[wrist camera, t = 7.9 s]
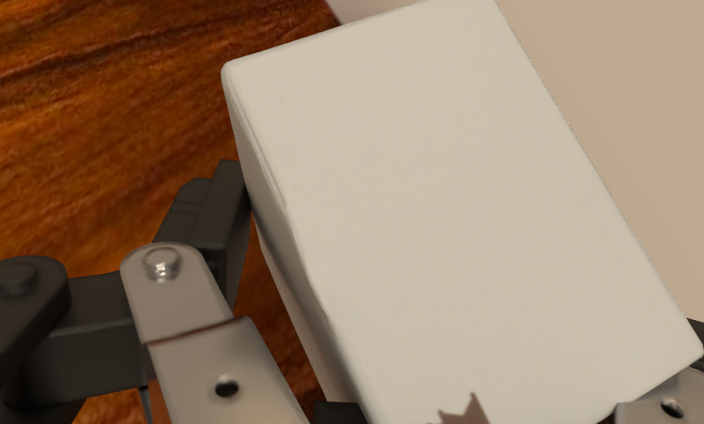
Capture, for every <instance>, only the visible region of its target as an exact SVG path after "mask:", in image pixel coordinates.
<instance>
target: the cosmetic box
mask: <svg viewBox="0 0 704 424" xmlns="http://www.w3.org/2000/svg"><path fill="white" fill-rule="evenodd" d="M221 80H222V85H223V90H224V94H225V98H226V102H227V106H228V110H229V115H230V119H231V124H232V128H233V132H234V136H235V140H236V145H237V150H238V155H239V159H240V164H241V168H242V172H243V176H244V180H245V184H246V188H247V192H248V197H249V201H250V205H251V209H252V212H253V216H254V220H255V225H256V229H257V233H258V237H259V242H260V246H261V250H262V253H263V255H264V258H265V260H266V262H267V265H268V267H269V270H270V272H271V274H272V277H273V279H274V282H275V284H276V287H277V289H278V291H279V293H280V296H281V298H282V300H283V303H284V305H285V307H286V309H287V312H288V314H289V316H290V319H291V321H292V323H293V326H294V328H295V330H296V332H297V335H298V337H299V339H300V341H301V343H302V346H303V348H304V350H305V352H306V355H307V357H308V359H309V361H310V363H311V366H312V368H313V370H314V372H315V374H316V377H317V379H318V381H319V383H320V386H321V388H322V390H323V392H324V394H325V397H326V399H327V401H331V402H352V403H358V405H359V407H360V409H361V410H362V412H363V414H364V416H365V418H366V420H367V422H368V424H597V423H599V422H600V421H602V420H604V419H605V418H607V417H608V416H609V415H611V414H612V413H614V411H615V408H616V405H617V402H631V401H634V400H636V399H637V398H639V397H640V396H642V395H644V394H645V393H647V392H648V391H650V390H652V389H653V388H655V387H656V386H658V385H659V384H661V383H662V382H664V381H665V380H667V379H668V378H670V377H671V376H673V375H674V374H676V373H678V372H679V371H681V370H682V369H684V368H685V367H687V366H689V365H690V364H692V363H693V362H695V361H696V360H698V359H700V358H701V357H703V355H704V349H703V344H702V343H701V341H700V340H699V338H698V336H697V335H696V333H695V332H694V330H693V328H692V327H691V325H690V324H689V322H688V320H687V319H686V317H685V315H684V314H683V312H682V311H681V309H680V307H679V306H678V304H677V302H676V301H675V299H674V298H673V296H672V294H671V293H670V291H669V289H668V288H667V286H666V284H665V283H664V281H663V280H662V278H661V276H660V275H659V273H658V271H657V270H656V268H655V266H654V265H653V263H652V261H651V259H650V258H649V256H648V254H647V252H646V251H645V249H644V247H643V246H642V244H641V242H640V240H639V239H638V237H637V235H636V234H635V232H634V230H633V229H632V227H631V226H630V224H629V223H628V221H627V219H626V217H625V216H624V214H623V212H622V211H621V209H620V208H619V206H618V204H617V203H616V201H615V199H614V198H613V196H612V194H611V192H610V191H609V189H608V188H607V186H606V184H605V182H604V181H603V179H602V177H601V176H600V174H599V172H598V171H597V169H596V167H595V166H594V164H593V163H592V161H591V159H590V157H589V156H588V154H587V153H586V151H585V149H584V147H583V146H582V144H581V143H580V141H579V139H578V138H577V136H576V134H575V133H574V131H573V129H572V128H571V126H570V124H569V123H568V121H567V119H566V118H565V116H564V114H563V113H562V111H561V110H560V108H559V106H558V105H557V103H556V101H555V100H554V98H553V96H552V95H551V93H550V91H549V90H548V88H547V86H546V84H545V83H544V81H543V80H542V78H541V76H540V74H539V72H538V71H537V69H536V67H535V66H534V64H533V62H532V61H531V59H530V57H529V56H528V54H527V52H526V51H525V49H524V47H523V46H522V44H521V42H520V41H519V39H518V37H517V36H516V34H515V33H514V31H513V29H512V27H511V26H510V24H509V23H508V21H507V19H506V17H505V15H504V14H503V12H502V10H501V8H500V7H499V5H498V3H497V2H496V0H422V1H418V2H415V3H412V4H409V5H406V6H403V7H399V8H396V9H393V10H390V11H387V12H383V13H381V14H377V15H374V16H371V17H367V18H364V19H361V20H358V21H355V22H352V23H348V24H345V25H342V26H339V27H336V28H333V29H330V30H327V31H324V32H321V33H318V34H315V35H312V36H309V37H305V38H302V39H299V40H296V41H293V42H290V43H287V44H283V45H280V46H277V47H274V48H271V49H268V50H265V51H261V52H258V53H255V54H251V55H248V56H244V57H241V58H238V59H234V60H231V61H229V62H227V63H226V64H224V66H223V68H222V70H221Z"/></svg>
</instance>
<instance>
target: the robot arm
mask: <svg viewBox="0 0 704 424" xmlns="http://www.w3.org/2000/svg"><path fill="white" fill-rule="evenodd" d="M250 226H251V205H250V201H249V197H248V192H247V188H246V184H245V180H244V176H243V172H242V168H241V164H240V161H234V160H224V159H220V161H219V163H218V165H217V168H216V170H215V172H214V175H213V177H212V179H208V178H197V177H195V178H194V179H192V180H191V181H189V182H188V183H186V184H185V185H183V186H182V187H181V188H180V189H179V191H178V193H177V195H176V197H175V199H174V202H173V203H172V205H171V207H170V209H169V212H167V214H166V216H165V218H164V220H163V222H162V224H161V226H160V228H159V230H158V232H157V234H156V236H155V237H154V239H153V241H152V243H151V244H147V245H144V246H141V247H139V248H137V249H135V250H133V251H131V252H130V253H129V254H128V255H126V256H125V258H124V259H123V260H122V262H121V264H120V270H118V271H114V272H110V273H105V274H99V275H92V276H84V277H76V278H68V277H67V272H66V268H65V267H64V265H63V264H62V263H61V262H59V261H57V260H56V259H53V258H50V257H45V256H37V255H27V256H18V257H13V258H8V259H5V260H1V261H0V424H72V422H73V420H74V419H75V417H76V416H77V414H78V412H79V411H80V409H81V408H82V406H83V404H84V403H85V401H86V399H87V398H89V397H94V396H99V395H103V394H108V393H113V392H117V391H122V390H127V389H132V388H136V391H137V395H138V399H139V403H140V407H141V410H142V414H143V418H144V422H145V424H368V422H367V420H366V418H365V416H364V414H363V412H362V410H361V409H360V407H359V405H358V403H352V402H331V401H315V402H314V410H313V417H312V421H308V419H307V418H306V416H305V414H304V412H303V410H302V409H301V407H300V405H299V403H298V401H297V400H296V398H295V396H294V394H293V393H292V391H291V389H290V387H289V385H288V384H287V382H286V380H285V378H284V376H283V375H282V373H281V371H280V369H279V367H278V366H277V364H276V362H275V360H274V358H273V357H272V355H271V353H270V351H269V349H268V348H267V346H266V344H265V342H264V340H263V339H262V337H261V335H260V333H259V331H258V330H257V328H256V326H255V324H254V323H253V321H252V320H251V319H250V317H248V316H247V315H243V316H240V317H236V318H235V317H234V316H233V314H232V313H233V309H234V305H235V300H236V296H237V291H238V287H239V283H240V278H241V274H242V269H243V265H244V261H245V256H246V252H247V247H248V243H249V236H250ZM686 319H687V320H688V322H689V324H690V325H691V327H692V328H693V330H694V332H695V333H696V335H697V336H698V338H699V340H700V341H701V343H702V344H703V349H704V323H703V322H700V321H696V320H692V319H689V318H686ZM597 424H704V355H703V357H701V358H700V359H698V360H696V361H695V362H693V363H692V364H690V365H689V366H687V367H685V368H684V369H682V370H681V371H679V372H678V373H676V374H674V375H673V376H671V377H670V378H668V379H667V380H665V381H664V382H662V383H661V384H659V385H658V386H656V387H655V388H653V389H652V390H650V391H648V392H647V393H645V394H644V395H642V396H640V397H639V398H637V399H636V400H634V401H631V402H617V405H616V408H615V411H614V413H612V414H611V415H609V416H608V417H607V418H605V419H604V420H602V421H600V422H599V423H597Z"/></svg>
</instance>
